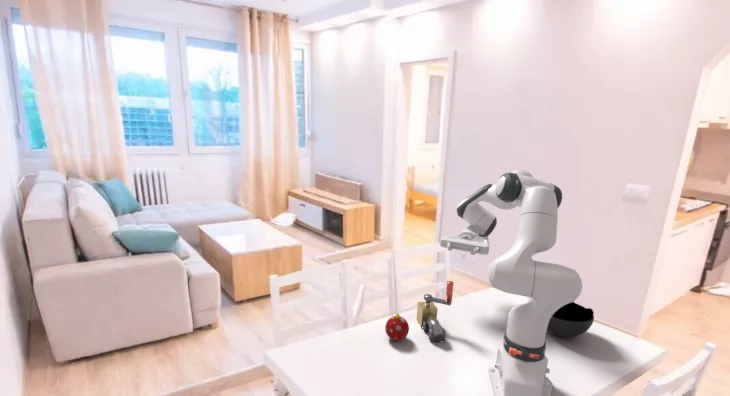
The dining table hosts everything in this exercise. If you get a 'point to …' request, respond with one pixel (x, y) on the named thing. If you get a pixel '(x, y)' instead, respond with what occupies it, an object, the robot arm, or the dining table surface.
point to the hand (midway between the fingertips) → (460, 250)
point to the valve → (430, 321)
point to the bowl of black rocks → (571, 320)
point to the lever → (447, 301)
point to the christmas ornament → (397, 328)
